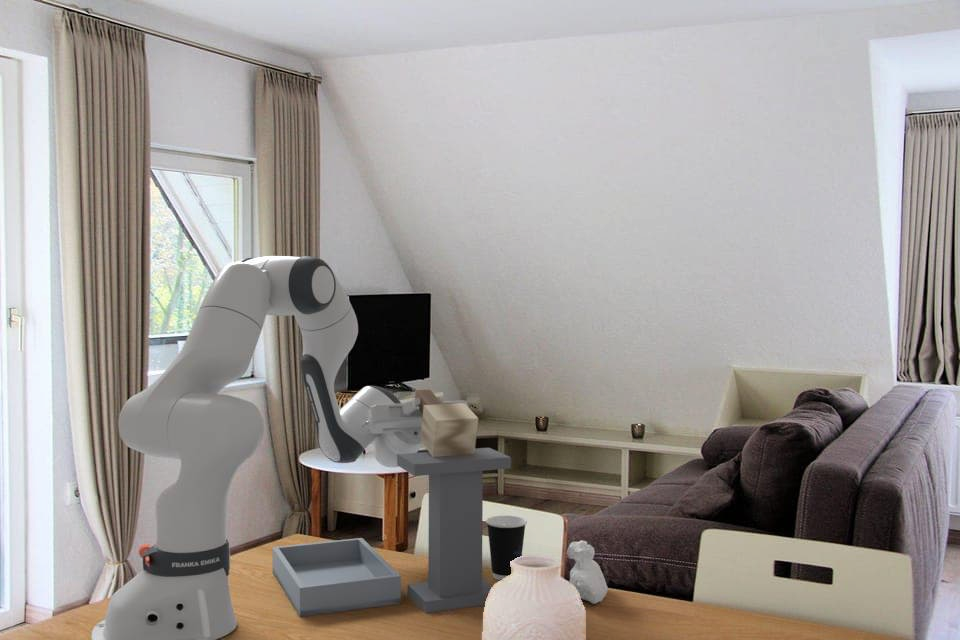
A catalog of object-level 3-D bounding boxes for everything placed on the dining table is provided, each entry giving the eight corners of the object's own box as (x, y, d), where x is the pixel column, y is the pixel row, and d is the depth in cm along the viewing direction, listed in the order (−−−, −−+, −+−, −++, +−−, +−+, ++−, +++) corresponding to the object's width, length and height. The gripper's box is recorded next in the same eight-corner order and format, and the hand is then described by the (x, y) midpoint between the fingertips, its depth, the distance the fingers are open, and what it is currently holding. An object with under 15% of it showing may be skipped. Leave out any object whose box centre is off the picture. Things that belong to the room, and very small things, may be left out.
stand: (414, 614, 163) (414, 464, 161) (396, 596, 172) (397, 454, 171) (509, 601, 169) (510, 457, 168) (488, 584, 179) (489, 447, 177)
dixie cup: (529, 582, 180) (529, 525, 179) (488, 583, 179) (488, 526, 178) (523, 569, 188) (523, 514, 187) (483, 570, 187) (483, 515, 186)
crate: (299, 617, 161) (299, 588, 161) (272, 572, 185) (272, 547, 185) (400, 603, 168) (400, 575, 168) (362, 562, 192) (362, 537, 192)
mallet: (432, 456, 168) (436, 420, 166) (401, 414, 185) (404, 381, 183) (474, 453, 171) (478, 418, 169) (439, 412, 188) (443, 379, 186)
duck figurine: (589, 598, 178) (553, 548, 179) (621, 575, 176) (585, 526, 177) (583, 620, 166) (544, 568, 167) (617, 597, 165) (578, 544, 166)
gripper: (358, 415, 190) (374, 388, 179) (453, 410, 198) (474, 383, 187) (362, 445, 188) (379, 419, 176) (458, 438, 195) (480, 413, 184)
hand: (429, 400), depth 182 cm, fingers closed on mallet, 3 cm apart
